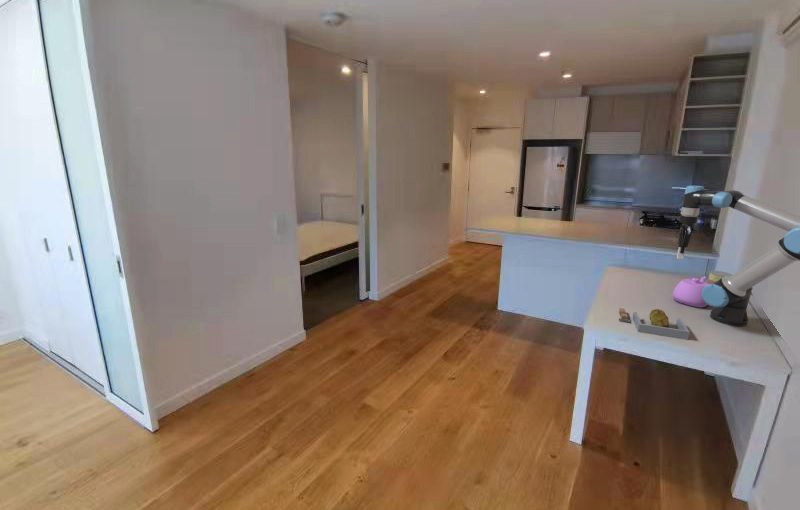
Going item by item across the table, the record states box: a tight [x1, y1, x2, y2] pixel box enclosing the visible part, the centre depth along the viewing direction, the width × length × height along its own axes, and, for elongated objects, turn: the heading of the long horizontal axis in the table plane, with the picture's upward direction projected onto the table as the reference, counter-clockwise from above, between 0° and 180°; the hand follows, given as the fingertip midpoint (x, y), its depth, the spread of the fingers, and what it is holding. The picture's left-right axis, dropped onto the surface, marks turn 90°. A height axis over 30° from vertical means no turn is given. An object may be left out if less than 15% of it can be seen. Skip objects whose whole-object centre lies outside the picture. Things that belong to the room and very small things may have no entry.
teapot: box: [672, 275, 709, 308], centre depth 218 cm, size 23×21×15 cm
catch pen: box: [632, 311, 691, 341], centre depth 186 cm, size 20×16×4 cm
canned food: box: [706, 270, 733, 284], centre depth 237 cm, size 11×11×12 cm
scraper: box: [618, 307, 631, 324], centre depth 199 cm, size 14×5×2 cm, turn 157°
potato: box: [648, 308, 670, 328], centre depth 188 cm, size 8×13×8 cm, turn 147°
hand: (679, 258), depth 203 cm, fingers closed
